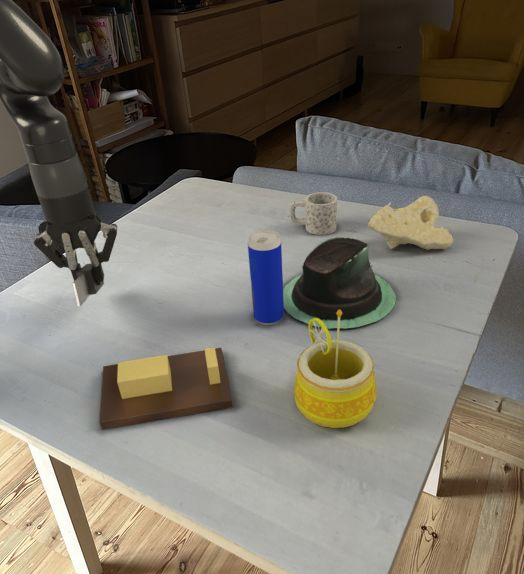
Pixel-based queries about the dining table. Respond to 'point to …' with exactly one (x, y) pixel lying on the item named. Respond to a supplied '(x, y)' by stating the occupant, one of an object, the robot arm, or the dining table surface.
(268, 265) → the beverage can
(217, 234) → the dining table surface
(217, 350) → the board
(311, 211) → the mug
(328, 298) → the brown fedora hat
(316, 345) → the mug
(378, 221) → the cheese
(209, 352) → the butter slice
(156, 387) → the butter block
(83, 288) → the knife
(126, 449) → the dining table surface
